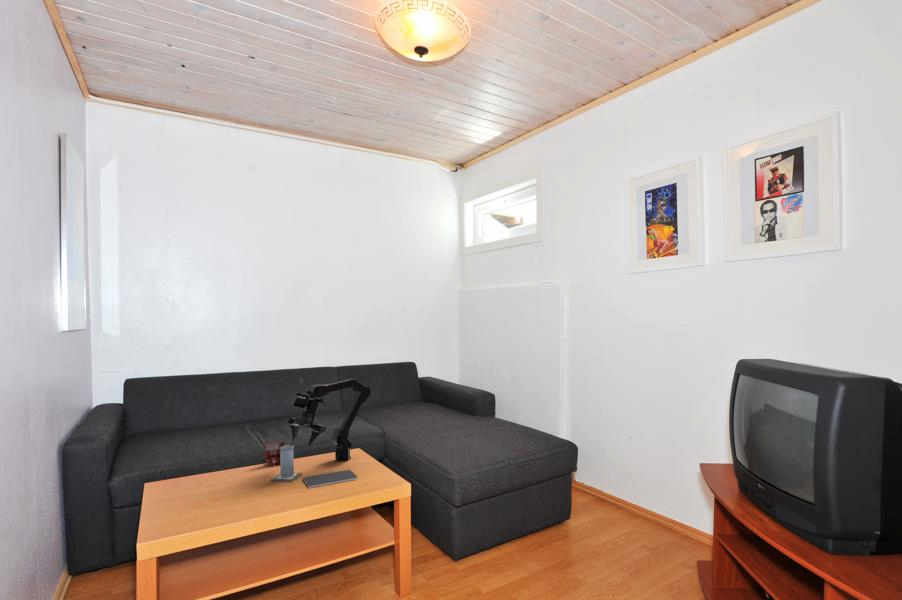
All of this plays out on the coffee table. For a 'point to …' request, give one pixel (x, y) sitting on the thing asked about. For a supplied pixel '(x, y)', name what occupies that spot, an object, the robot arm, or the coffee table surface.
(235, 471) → the coffee table surface
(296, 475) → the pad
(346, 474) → the notebook
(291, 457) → the vase
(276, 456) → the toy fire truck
